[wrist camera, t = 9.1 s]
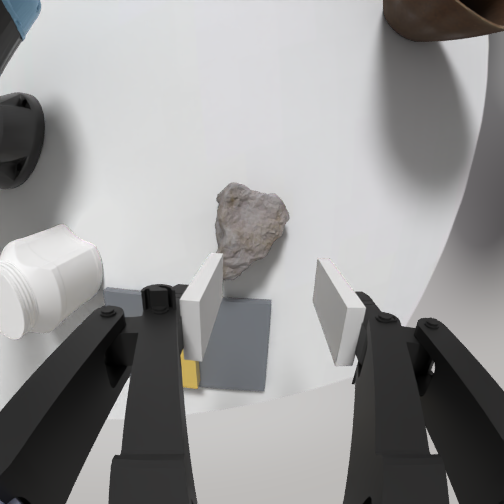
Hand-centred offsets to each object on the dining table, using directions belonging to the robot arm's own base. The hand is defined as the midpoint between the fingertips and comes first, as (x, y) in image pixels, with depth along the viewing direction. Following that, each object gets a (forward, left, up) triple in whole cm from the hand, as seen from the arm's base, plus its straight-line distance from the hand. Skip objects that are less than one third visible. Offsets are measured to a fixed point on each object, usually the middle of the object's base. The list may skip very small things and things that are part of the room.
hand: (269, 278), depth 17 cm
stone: (-3, 0, -17) cm, 17 cm away
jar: (-27, -6, -17) cm, 33 cm away
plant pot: (+18, +30, -17) cm, 39 cm away
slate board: (-10, -16, -17) cm, 25 cm away
